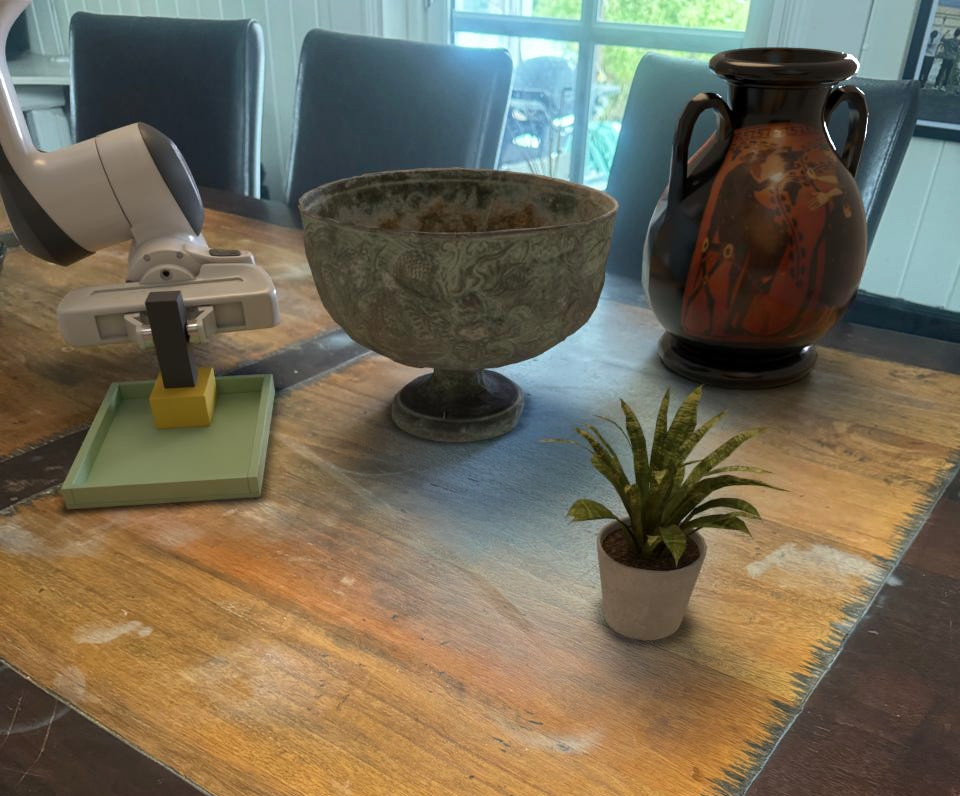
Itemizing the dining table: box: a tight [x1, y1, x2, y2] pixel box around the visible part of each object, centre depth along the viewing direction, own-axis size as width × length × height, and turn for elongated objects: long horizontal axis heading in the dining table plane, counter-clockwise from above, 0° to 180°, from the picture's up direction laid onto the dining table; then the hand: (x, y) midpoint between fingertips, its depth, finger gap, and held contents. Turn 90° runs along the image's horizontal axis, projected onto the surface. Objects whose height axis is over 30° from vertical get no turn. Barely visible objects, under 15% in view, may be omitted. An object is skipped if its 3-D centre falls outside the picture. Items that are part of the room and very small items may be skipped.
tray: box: [60, 373, 276, 510], centre depth 85 cm, size 16×22×2 cm
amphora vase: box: [640, 46, 870, 390], centre depth 91 cm, size 22×22×28 cm
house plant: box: [535, 383, 795, 641], centre depth 59 cm, size 14×14×16 cm
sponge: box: [145, 291, 218, 429], centre depth 87 cm, size 5×7×11 cm
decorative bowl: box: [297, 166, 620, 443], centre depth 85 cm, size 26×26×20 cm
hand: (171, 338), depth 85 cm, fingers closed on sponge, 3 cm apart
